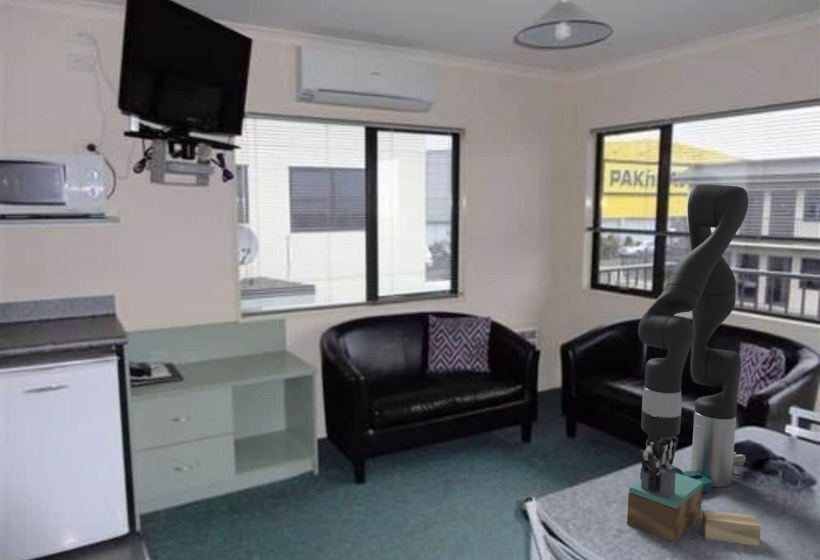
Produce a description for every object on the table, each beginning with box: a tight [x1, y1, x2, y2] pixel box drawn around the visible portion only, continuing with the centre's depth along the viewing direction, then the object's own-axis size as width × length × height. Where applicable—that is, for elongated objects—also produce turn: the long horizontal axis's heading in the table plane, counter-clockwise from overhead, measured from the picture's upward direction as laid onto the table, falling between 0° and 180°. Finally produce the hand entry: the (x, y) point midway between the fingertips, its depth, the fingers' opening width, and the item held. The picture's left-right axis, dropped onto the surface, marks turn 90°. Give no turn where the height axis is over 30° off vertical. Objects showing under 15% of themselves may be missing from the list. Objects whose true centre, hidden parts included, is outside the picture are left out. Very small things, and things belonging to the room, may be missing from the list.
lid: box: [628, 465, 703, 509], centre depth 130 cm, size 14×10×7 cm
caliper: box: [732, 451, 746, 475], centre depth 158 cm, size 20×1×6 cm, turn 124°
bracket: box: [639, 464, 713, 494], centre depth 144 cm, size 18×7×8 cm, turn 112°
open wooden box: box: [626, 488, 703, 543], centre depth 130 cm, size 14×10×7 cm
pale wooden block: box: [700, 509, 762, 547], centre depth 124 cm, size 4×10×4 cm, turn 75°
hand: (657, 488), depth 127 cm, fingers closed on lid, 2 cm apart
